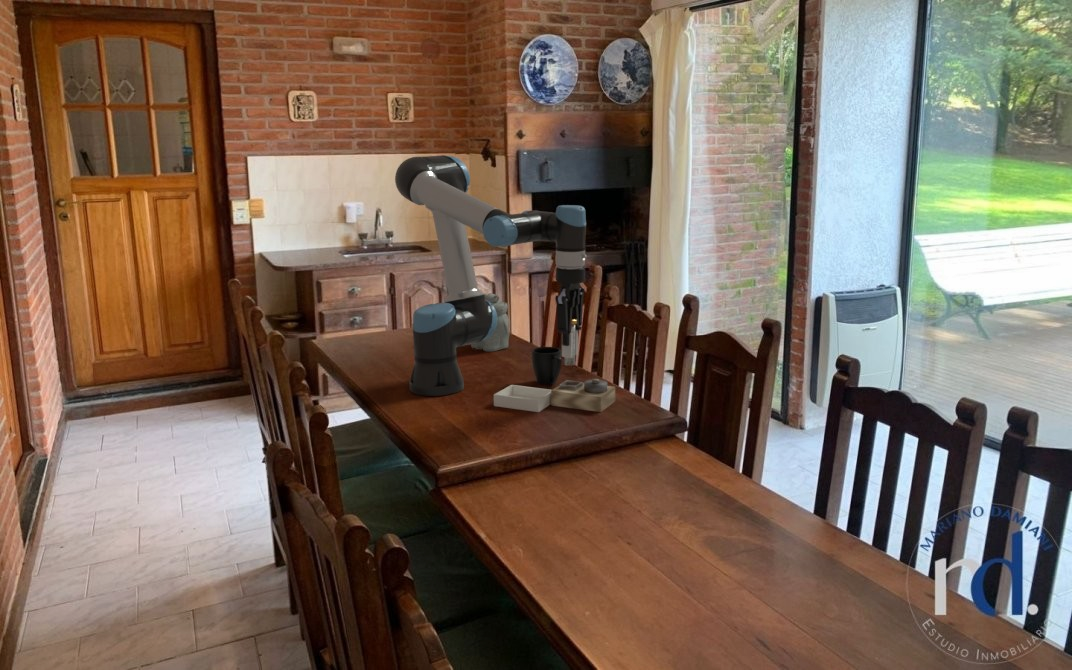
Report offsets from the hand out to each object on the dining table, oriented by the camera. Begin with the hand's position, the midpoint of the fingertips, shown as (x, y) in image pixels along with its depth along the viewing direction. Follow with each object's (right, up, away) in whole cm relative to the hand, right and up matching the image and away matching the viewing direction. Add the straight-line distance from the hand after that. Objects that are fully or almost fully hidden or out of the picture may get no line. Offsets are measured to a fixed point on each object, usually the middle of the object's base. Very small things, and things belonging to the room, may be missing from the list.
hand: (569, 355), depth 225 cm
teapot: (-26, +1, +64) cm, 69 cm away
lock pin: (0, -2, +1) cm, 2 cm away
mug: (-5, -9, +19) cm, 22 cm away
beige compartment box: (+4, -13, +1) cm, 13 cm away
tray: (-12, -13, +1) cm, 17 cm away
